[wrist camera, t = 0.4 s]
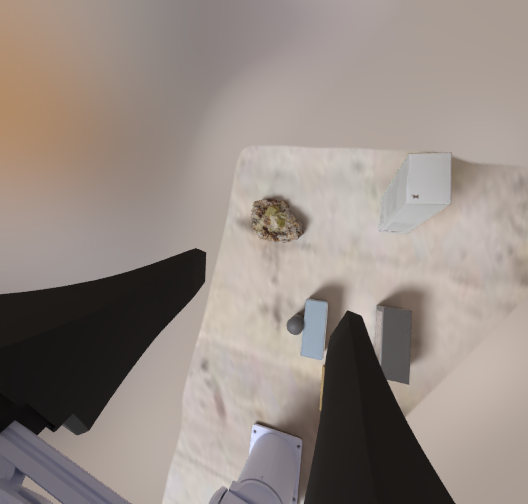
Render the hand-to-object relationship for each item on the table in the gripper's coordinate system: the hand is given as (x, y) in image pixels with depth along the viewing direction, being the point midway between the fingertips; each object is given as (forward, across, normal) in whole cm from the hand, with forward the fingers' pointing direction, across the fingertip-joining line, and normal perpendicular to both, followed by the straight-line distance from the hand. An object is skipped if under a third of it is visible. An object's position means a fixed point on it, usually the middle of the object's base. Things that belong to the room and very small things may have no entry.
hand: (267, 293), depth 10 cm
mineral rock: (+28, +6, +11) cm, 30 cm away
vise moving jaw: (+17, -5, +20) cm, 27 cm away
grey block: (+18, -16, +17) cm, 30 cm away
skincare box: (+30, -12, +4) cm, 32 cm away
